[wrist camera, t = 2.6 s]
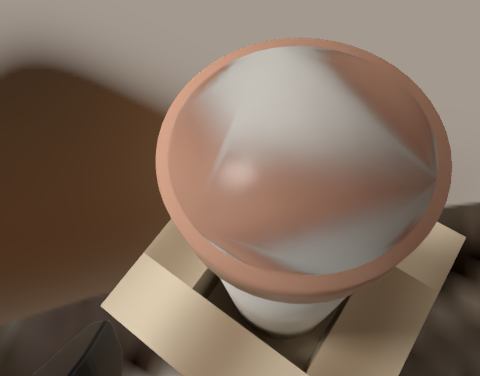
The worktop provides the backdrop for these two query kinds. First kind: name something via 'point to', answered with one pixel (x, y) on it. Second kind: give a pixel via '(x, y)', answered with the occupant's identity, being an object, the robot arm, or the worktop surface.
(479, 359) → the worktop surface
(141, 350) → the worktop surface
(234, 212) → the white pink cylinder
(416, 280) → the beige square frame
